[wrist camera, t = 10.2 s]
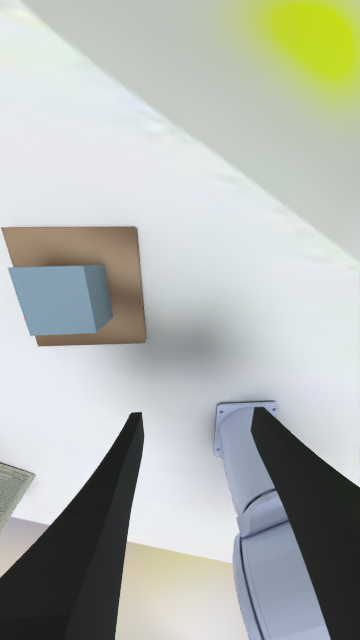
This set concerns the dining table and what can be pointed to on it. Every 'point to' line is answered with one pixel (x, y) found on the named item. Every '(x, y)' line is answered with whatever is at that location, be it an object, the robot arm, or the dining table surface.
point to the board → (89, 249)
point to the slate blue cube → (63, 298)
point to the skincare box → (11, 490)
